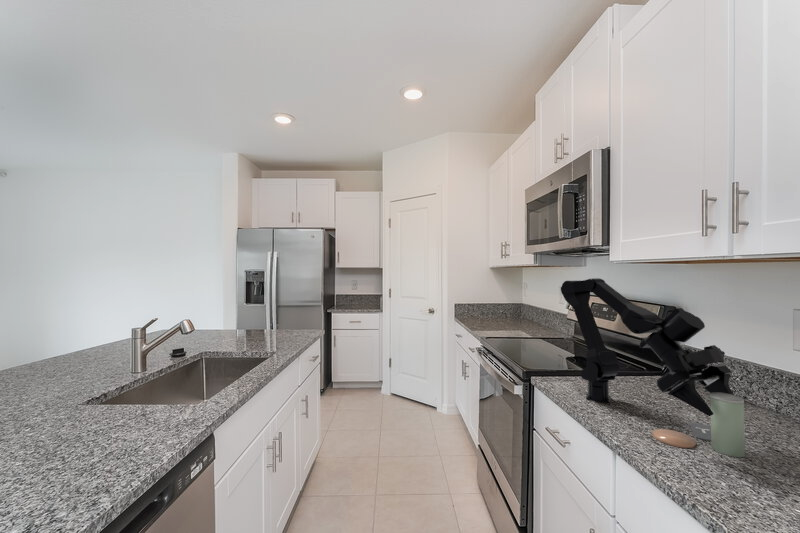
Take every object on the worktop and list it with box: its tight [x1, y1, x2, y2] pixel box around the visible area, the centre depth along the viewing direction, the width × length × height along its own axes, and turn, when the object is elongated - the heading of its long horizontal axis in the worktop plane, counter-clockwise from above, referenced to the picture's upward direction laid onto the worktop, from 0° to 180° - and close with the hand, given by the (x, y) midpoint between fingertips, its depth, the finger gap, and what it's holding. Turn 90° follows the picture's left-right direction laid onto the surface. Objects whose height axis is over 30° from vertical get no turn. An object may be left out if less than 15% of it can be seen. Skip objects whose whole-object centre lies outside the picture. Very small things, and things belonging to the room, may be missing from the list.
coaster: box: [652, 428, 697, 449], centre depth 80 cm, size 8×8×1 cm
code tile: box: [688, 421, 711, 442], centre depth 83 cm, size 10×8×1 cm
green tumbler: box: [709, 392, 746, 458], centre depth 75 cm, size 6×6×12 cm
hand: (725, 412), depth 76 cm, fingers open, 9 cm apart
